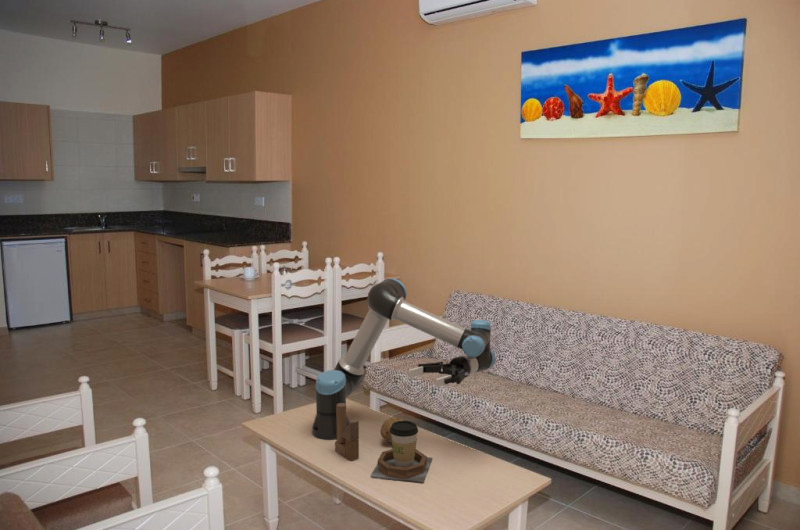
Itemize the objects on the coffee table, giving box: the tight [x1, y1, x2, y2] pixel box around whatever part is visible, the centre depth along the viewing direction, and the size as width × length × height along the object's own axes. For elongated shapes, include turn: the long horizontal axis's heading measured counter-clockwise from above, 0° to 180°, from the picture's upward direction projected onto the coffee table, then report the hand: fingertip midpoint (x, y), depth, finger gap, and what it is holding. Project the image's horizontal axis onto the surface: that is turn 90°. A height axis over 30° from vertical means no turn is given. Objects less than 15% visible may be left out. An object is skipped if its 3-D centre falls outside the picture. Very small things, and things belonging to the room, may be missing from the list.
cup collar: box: [370, 448, 433, 484], centre depth 210 cm, size 18×18×4 cm
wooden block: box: [334, 403, 360, 461], centre depth 220 cm, size 4×11×18 cm, turn 38°
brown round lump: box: [380, 417, 402, 444], centre depth 230 cm, size 9×9×10 cm
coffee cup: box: [390, 420, 419, 468], centre depth 209 cm, size 10×10×15 cm
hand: (422, 378), depth 213 cm, fingers open, 13 cm apart
